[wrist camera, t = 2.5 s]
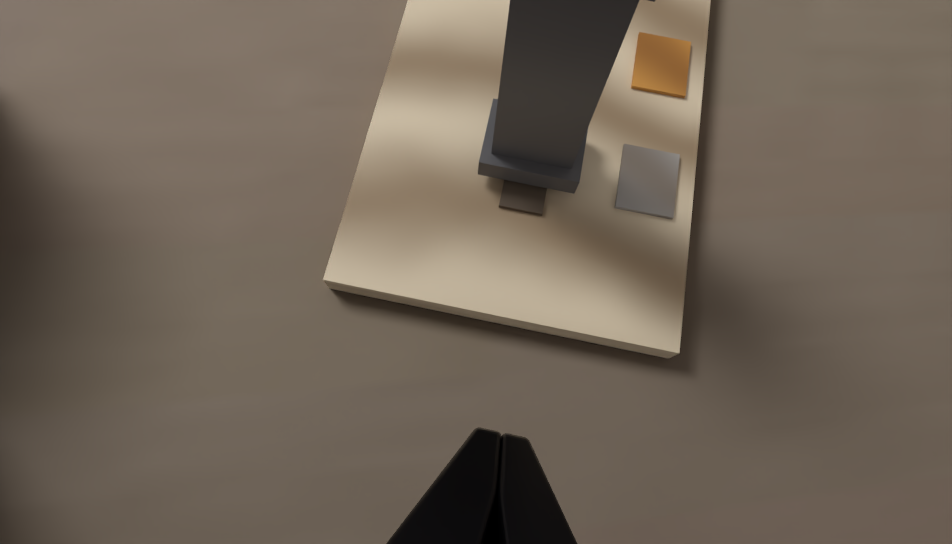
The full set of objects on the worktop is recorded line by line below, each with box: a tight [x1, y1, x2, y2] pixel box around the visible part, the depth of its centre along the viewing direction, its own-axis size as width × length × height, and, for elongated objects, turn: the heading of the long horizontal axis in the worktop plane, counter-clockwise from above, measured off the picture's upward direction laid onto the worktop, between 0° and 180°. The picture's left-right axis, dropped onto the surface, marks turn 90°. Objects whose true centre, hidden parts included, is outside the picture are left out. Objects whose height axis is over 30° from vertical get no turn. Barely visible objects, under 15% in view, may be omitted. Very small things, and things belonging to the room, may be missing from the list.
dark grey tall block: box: [478, 0, 655, 194], centre depth 18 cm, size 3×4×11 cm
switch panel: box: [323, 0, 711, 359], centre depth 24 cm, size 20×14×4 cm
